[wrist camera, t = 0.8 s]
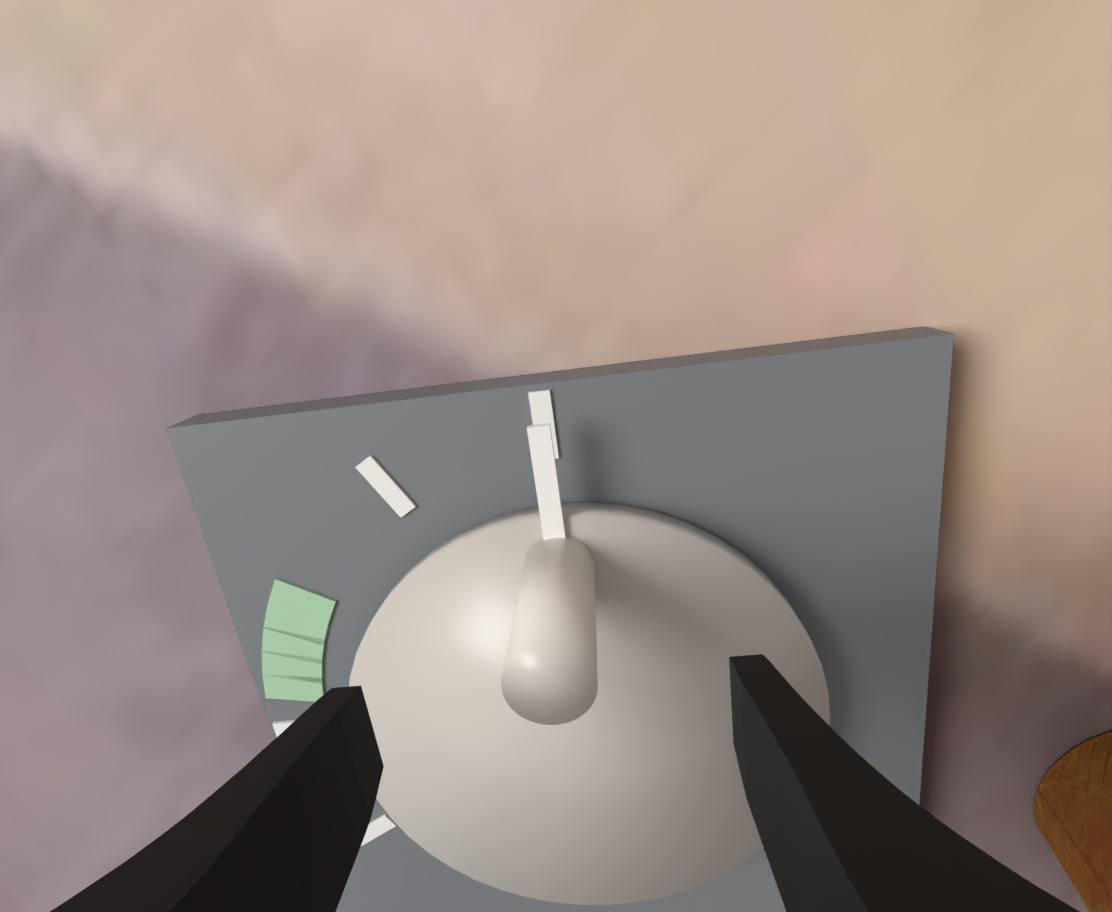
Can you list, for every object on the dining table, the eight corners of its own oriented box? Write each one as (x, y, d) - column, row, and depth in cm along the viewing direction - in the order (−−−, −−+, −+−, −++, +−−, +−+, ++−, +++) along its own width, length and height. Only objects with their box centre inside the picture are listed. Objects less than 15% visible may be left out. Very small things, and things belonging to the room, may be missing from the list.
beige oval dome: (817, 867, 22) (897, 1082, 16) (409, 887, 23) (353, 1093, 18) (820, 382, 16) (942, 455, 11) (283, 444, 18) (140, 538, 12)
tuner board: (892, 883, 25) (913, 928, 23) (358, 908, 27) (344, 951, 25) (924, 326, 18) (958, 334, 16) (197, 415, 20) (161, 430, 18)
